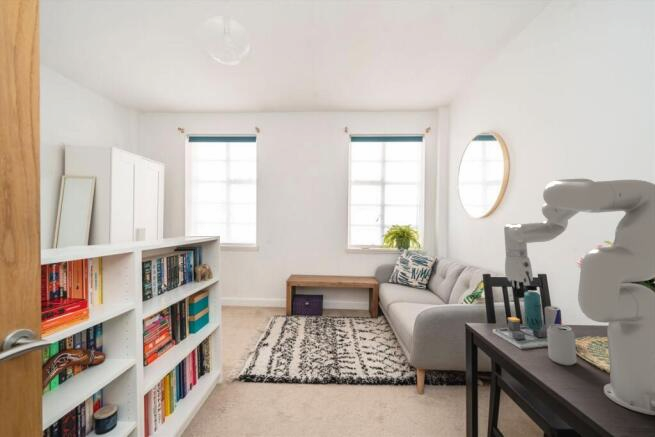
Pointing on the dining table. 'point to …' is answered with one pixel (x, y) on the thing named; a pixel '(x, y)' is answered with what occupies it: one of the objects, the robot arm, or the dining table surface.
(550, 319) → the energy drink
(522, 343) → the panel
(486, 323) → the dining table surface
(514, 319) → the handle
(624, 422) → the dining table surface
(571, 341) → the can
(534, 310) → the beverage bottle
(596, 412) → the dining table surface
